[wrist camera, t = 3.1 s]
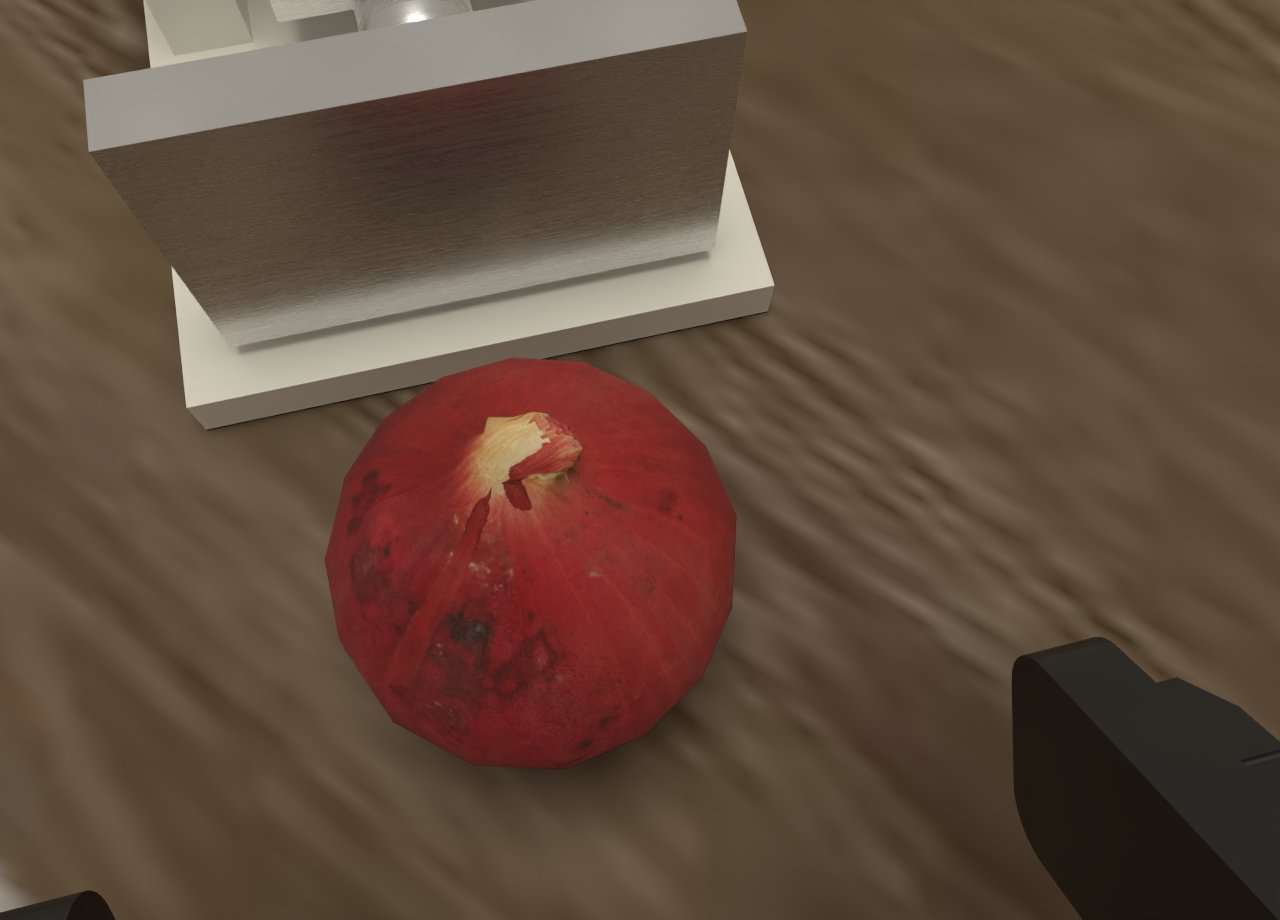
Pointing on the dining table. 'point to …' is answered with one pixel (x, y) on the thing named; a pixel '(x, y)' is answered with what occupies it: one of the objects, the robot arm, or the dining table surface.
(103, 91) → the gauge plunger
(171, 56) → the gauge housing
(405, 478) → the red pomegranate
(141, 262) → the dining table surface
